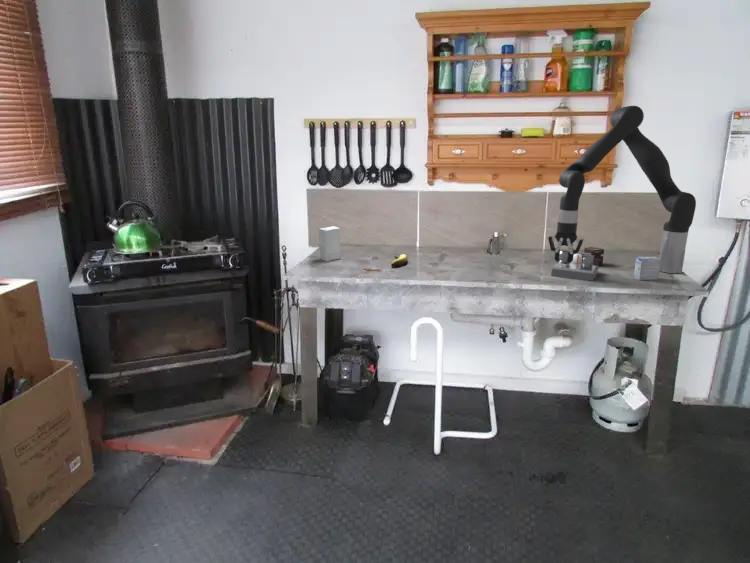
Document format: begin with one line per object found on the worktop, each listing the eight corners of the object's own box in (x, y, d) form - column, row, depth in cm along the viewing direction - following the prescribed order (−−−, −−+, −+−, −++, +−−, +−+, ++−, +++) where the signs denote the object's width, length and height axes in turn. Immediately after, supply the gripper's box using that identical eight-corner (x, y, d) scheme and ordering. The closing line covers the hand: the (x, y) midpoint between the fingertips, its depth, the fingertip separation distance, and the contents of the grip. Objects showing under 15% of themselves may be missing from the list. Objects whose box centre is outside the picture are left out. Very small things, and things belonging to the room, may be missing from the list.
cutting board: (419, 276, 218) (420, 267, 217) (357, 271, 226) (357, 263, 225) (435, 257, 251) (435, 249, 249) (380, 253, 258) (380, 245, 257)
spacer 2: (590, 266, 215) (591, 254, 213) (593, 269, 211) (595, 257, 209) (579, 266, 215) (580, 254, 214) (582, 269, 211) (583, 257, 210)
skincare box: (334, 256, 250) (333, 225, 246) (341, 259, 245) (340, 227, 241) (319, 259, 245) (318, 227, 241) (326, 261, 241) (325, 229, 236)
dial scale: (597, 272, 221) (599, 254, 218) (592, 281, 209) (594, 261, 207) (558, 268, 228) (559, 250, 226) (551, 275, 216) (553, 257, 214)
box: (590, 266, 231) (592, 250, 228) (582, 263, 236) (584, 247, 234) (602, 265, 232) (604, 249, 230) (593, 262, 238) (595, 246, 236)
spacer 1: (570, 262, 218) (571, 250, 216) (567, 264, 214) (569, 252, 213) (559, 260, 220) (560, 249, 218) (556, 263, 216) (557, 251, 215)
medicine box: (652, 277, 214) (655, 256, 212) (658, 280, 210) (661, 259, 207) (633, 277, 214) (636, 256, 211) (638, 280, 210) (641, 259, 207)
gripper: (587, 220, 212) (583, 262, 217) (551, 218, 219) (547, 258, 224) (584, 223, 206) (580, 266, 211) (547, 220, 212) (543, 261, 217)
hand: (563, 261), depth 217 cm, fingers closed on spacer 1, 4 cm apart
